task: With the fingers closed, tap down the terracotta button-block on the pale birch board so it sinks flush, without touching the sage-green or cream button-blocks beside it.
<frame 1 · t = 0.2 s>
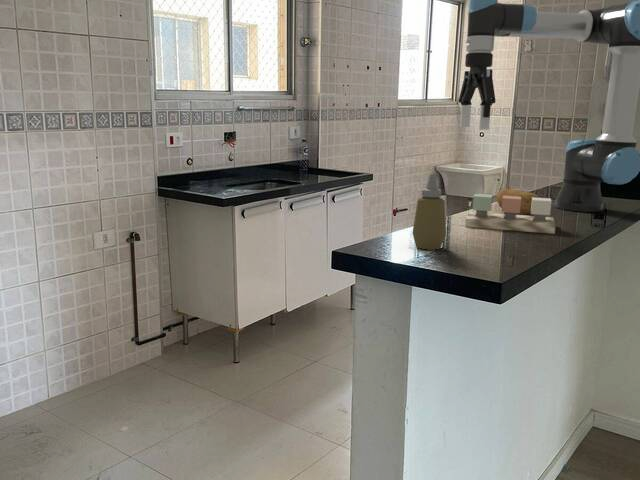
hand: (473, 128, 176), 27 cm above the table, fingers open, 13 cm apart
block sage: (482, 206, 175), point 5 cm above the table, slide at 0.0 cm
potato: (517, 215, 192), on the table
squeeze bottle: (428, 248, 147), on the table
board: (509, 226, 174), on the table
block cream: (540, 210, 170), point 5 cm above the table, slide at 0.0 cm
block terracotta: (511, 208, 173), point 5 cm above the table, slide at 0.0 cm
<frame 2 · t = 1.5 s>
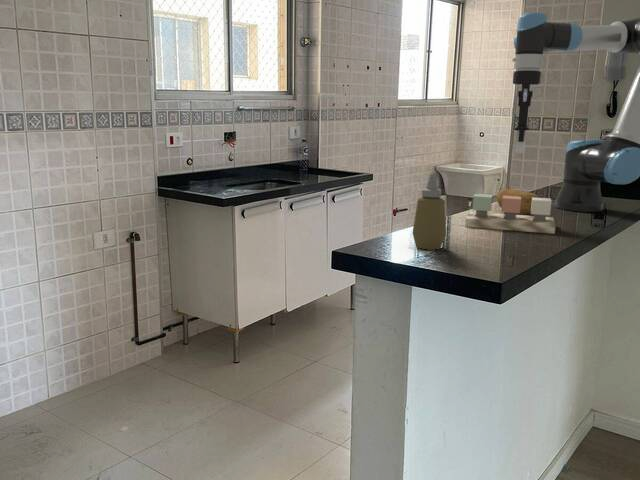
hand: (519, 152, 178), 20 cm above the table, fingers closed
nothing on the table moved.
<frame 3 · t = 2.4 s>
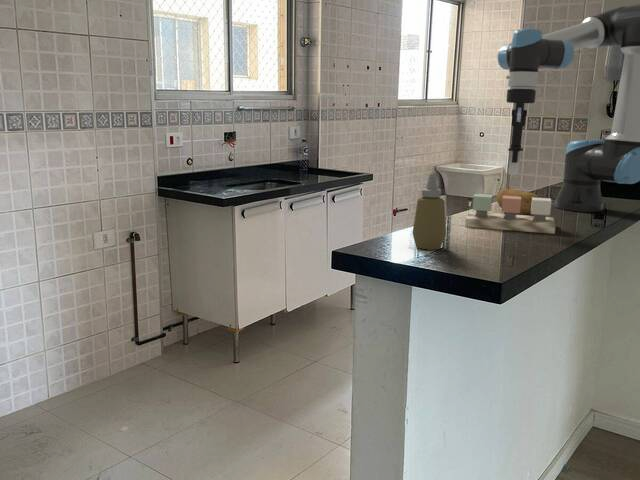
hand: (513, 173, 170), 15 cm above the table, fingers closed
nothing on the table moved.
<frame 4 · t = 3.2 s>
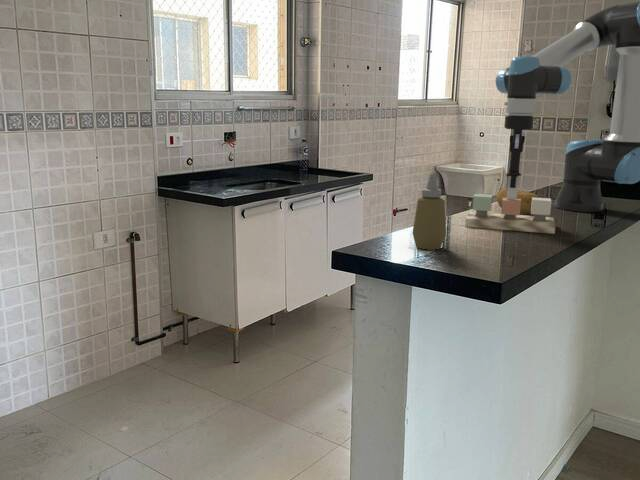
hand: (511, 198, 172), 8 cm above the table, fingers closed
block terracotta: (510, 210, 173), point 5 cm above the table, slide at 0.6 cm, touching gripper
everything else where it was.
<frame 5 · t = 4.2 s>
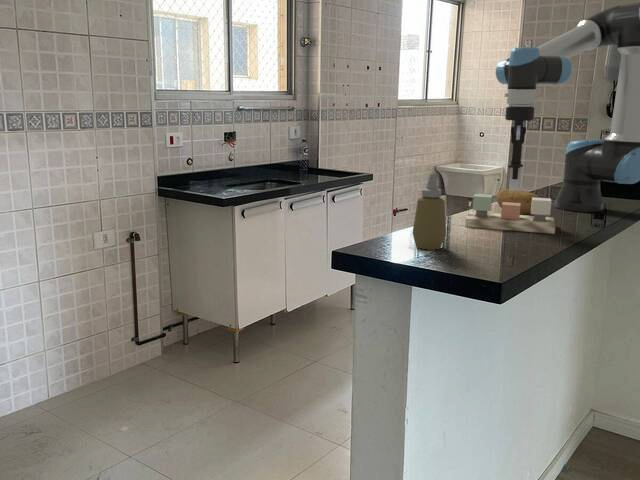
hand: (513, 190, 172), 10 cm above the table, fingers closed
block terracotta: (510, 214, 173), point 3 cm above the table, slide at 1.9 cm
everything else where it was.
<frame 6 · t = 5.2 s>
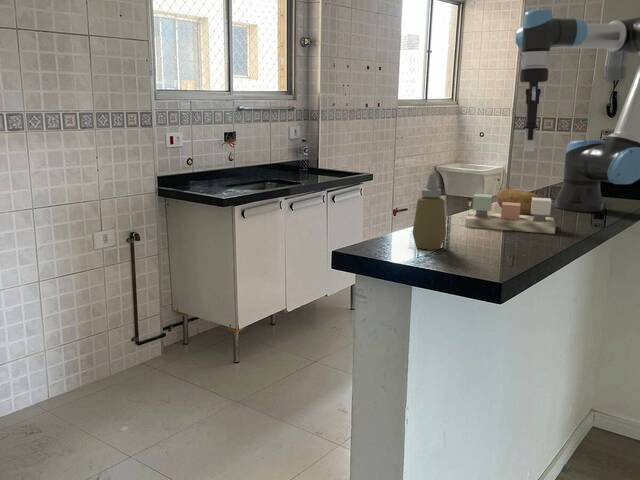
hand: (529, 151, 176), 21 cm above the table, fingers closed
nothing on the table moved.
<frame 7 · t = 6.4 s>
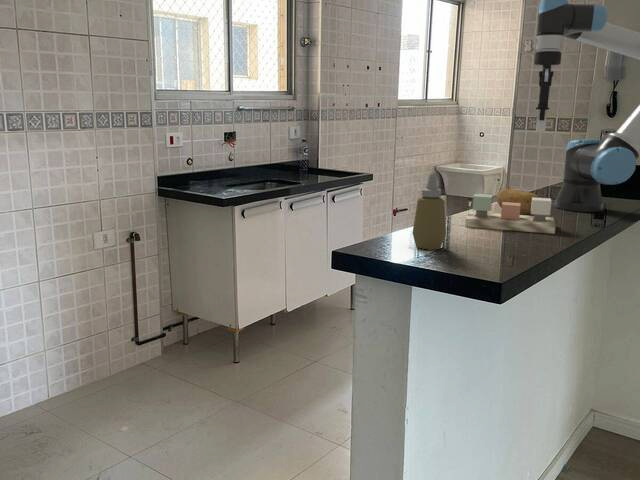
hand: (540, 131, 185), 26 cm above the table, fingers closed
nothing on the table moved.
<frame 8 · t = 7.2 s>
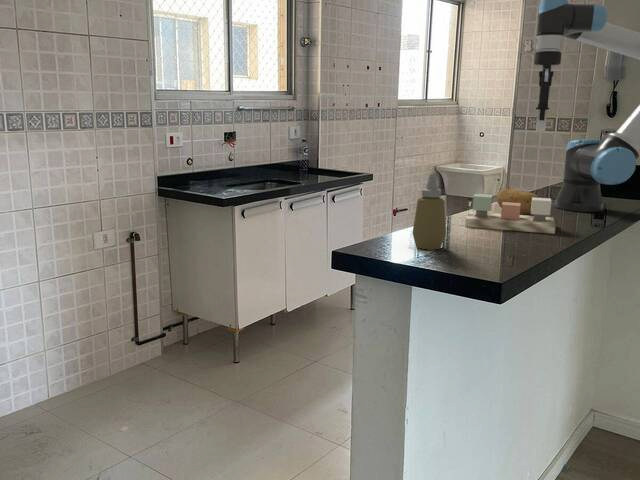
hand: (540, 131, 185), 26 cm above the table, fingers closed
nothing on the table moved.
at the end: block terracotta slide at 1.9 cm; block sage slide at 0.0 cm; block cream slide at 0.0 cm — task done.
